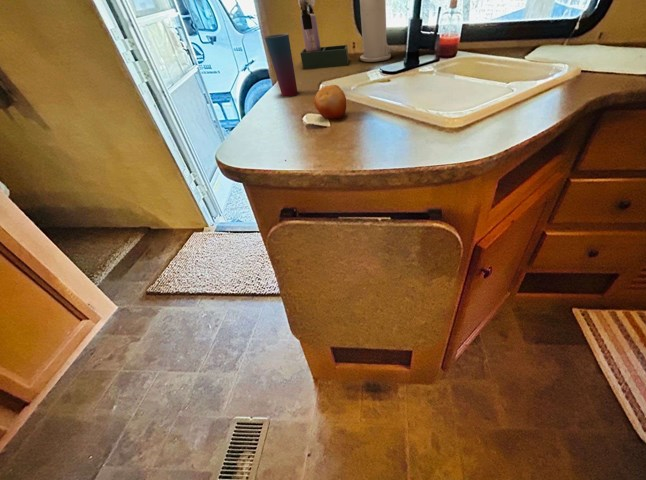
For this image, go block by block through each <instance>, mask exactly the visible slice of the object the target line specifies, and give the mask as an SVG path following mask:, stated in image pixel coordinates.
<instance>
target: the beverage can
mask: <svg viewBox="0 0 646 480" xmlns="http://www.w3.org/2000/svg"><path fill="white" fill-rule="evenodd" d="M309 15H311V21H312V29H307V30H304V27H303V22H302V15H301V14H300V15H299V17H300V19H299V21H300V26H301V32H302V38H303V43H304V49H306V52H316V51H321V47H322V46H321V42H320V41H321V40H320V34H319V27H318V22H317V17H316V13H314V14H309Z"/></svg>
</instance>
